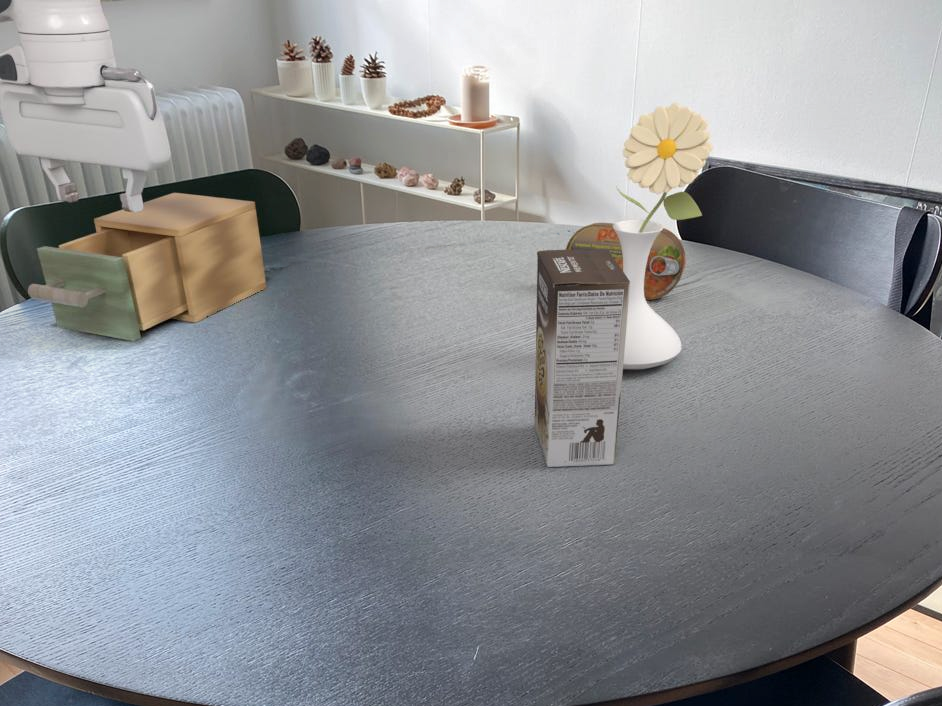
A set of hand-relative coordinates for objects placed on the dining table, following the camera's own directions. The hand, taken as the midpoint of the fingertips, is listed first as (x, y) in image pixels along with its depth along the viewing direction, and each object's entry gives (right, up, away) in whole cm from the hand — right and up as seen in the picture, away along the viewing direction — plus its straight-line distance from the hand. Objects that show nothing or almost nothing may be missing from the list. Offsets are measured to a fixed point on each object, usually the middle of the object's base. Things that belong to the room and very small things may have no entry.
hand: (100, 206), depth 110 cm
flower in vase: (+59, -19, -3) cm, 62 cm away
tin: (+61, -5, +15) cm, 63 cm away
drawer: (0, -11, +6) cm, 12 cm away
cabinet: (+6, -5, +15) cm, 17 cm away
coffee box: (+51, -31, -20) cm, 63 cm away
